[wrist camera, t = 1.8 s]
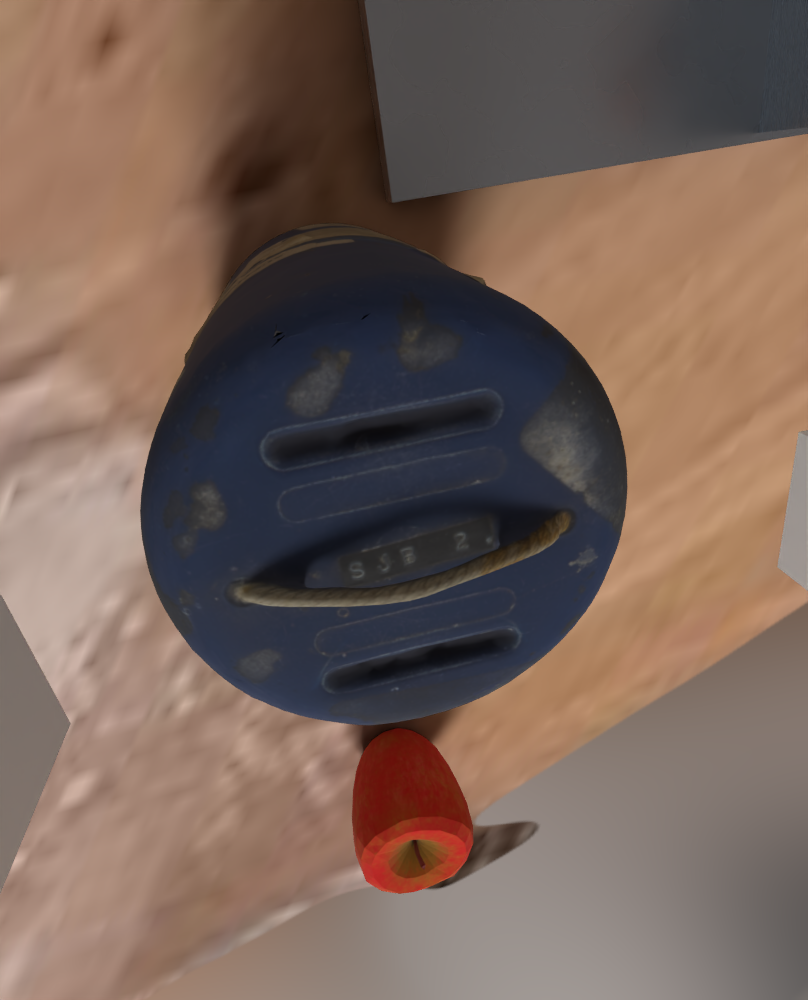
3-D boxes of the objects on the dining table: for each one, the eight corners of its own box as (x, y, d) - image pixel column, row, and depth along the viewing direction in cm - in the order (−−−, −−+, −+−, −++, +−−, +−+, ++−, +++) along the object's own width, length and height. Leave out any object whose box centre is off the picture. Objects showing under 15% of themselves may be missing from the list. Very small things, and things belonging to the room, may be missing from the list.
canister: (212, 205, 23) (62, 247, 7) (460, 232, 25) (765, 312, 9) (218, 448, 27) (128, 810, 11) (430, 455, 29) (607, 775, 13)
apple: (413, 796, 39) (439, 919, 33) (324, 773, 37) (333, 900, 30) (466, 725, 37) (506, 841, 31) (376, 697, 35) (398, 815, 29)
